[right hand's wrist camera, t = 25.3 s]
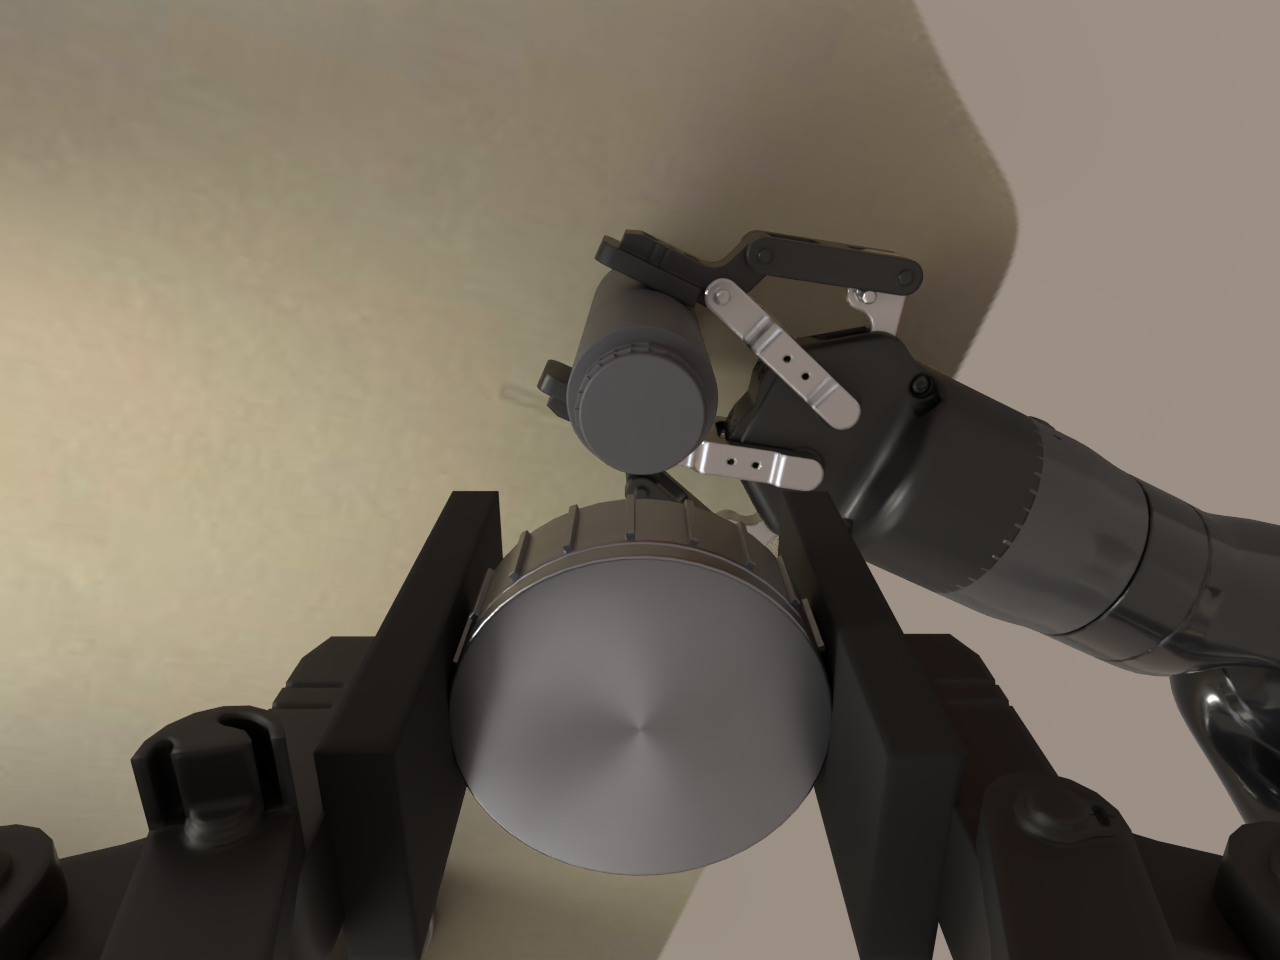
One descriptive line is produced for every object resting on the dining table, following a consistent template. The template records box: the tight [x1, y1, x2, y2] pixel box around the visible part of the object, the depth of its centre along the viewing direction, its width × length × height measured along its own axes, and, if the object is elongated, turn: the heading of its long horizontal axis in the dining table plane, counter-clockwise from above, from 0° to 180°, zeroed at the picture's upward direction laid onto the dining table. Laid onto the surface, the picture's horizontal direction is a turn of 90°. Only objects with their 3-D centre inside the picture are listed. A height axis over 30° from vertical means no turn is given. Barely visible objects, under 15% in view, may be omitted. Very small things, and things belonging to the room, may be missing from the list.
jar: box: [566, 269, 718, 475], centre depth 30 cm, size 4×4×15 cm
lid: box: [448, 494, 833, 876], centre depth 11 cm, size 5×5×2 cm
